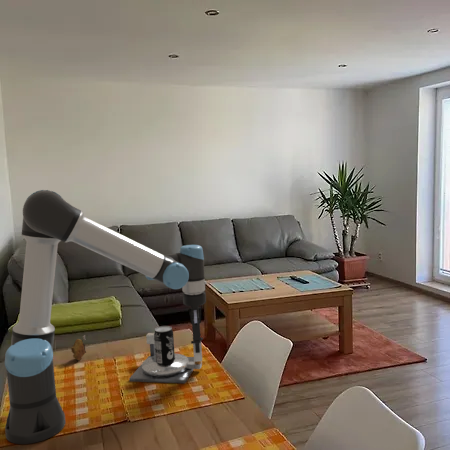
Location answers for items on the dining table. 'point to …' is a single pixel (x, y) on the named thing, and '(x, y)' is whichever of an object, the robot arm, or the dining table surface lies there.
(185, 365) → the turntable
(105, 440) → the dining table surface
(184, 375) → the turntable base
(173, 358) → the beverage can
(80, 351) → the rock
